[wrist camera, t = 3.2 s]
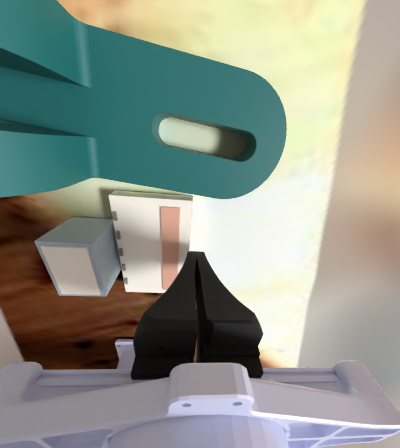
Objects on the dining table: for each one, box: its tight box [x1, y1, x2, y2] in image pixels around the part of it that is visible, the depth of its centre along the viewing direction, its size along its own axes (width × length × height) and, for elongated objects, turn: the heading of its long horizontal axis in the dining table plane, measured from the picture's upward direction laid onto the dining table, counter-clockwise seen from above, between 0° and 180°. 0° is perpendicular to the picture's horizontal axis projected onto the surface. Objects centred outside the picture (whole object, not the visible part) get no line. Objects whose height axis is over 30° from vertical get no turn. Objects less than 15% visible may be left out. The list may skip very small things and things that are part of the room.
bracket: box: [0, 0, 286, 199], centre depth 7 cm, size 18×7×8 cm, turn 79°
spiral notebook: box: [109, 190, 193, 293], centre depth 14 cm, size 10×6×1 cm, turn 175°
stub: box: [34, 217, 122, 296], centre depth 13 cm, size 5×4×4 cm
